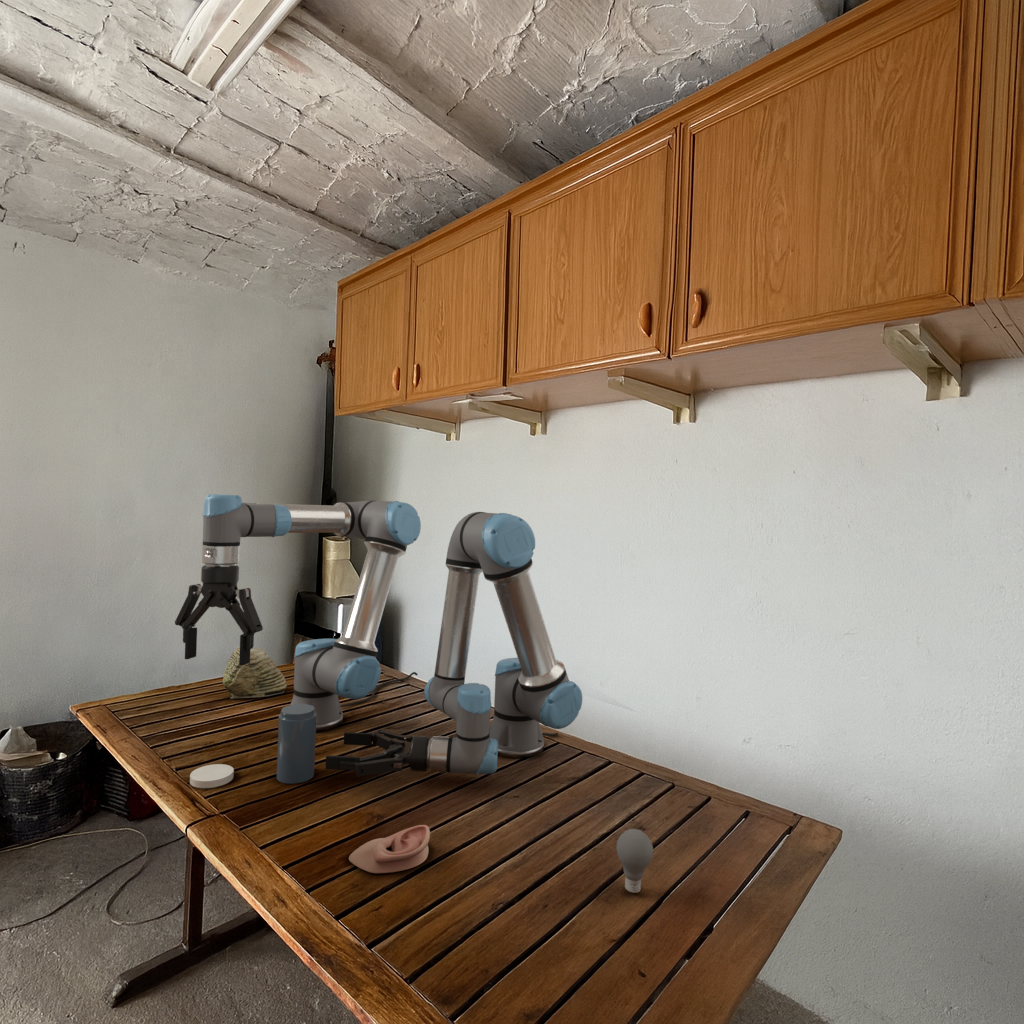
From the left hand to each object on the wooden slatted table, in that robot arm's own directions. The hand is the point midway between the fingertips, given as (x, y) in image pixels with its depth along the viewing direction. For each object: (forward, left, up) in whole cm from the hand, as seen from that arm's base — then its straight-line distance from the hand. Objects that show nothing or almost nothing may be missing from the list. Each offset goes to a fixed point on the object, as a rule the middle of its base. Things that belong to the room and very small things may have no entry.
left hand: (217, 661), depth 139 cm
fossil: (-36, -48, -26) cm, 65 cm away
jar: (-13, +11, -26) cm, 31 cm away
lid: (0, 0, -25) cm, 25 cm away
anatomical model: (-7, +52, -26) cm, 58 cm away
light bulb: (-27, +89, -26) cm, 96 cm away
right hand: (-19, +18, -20) cm, 33 cm away
